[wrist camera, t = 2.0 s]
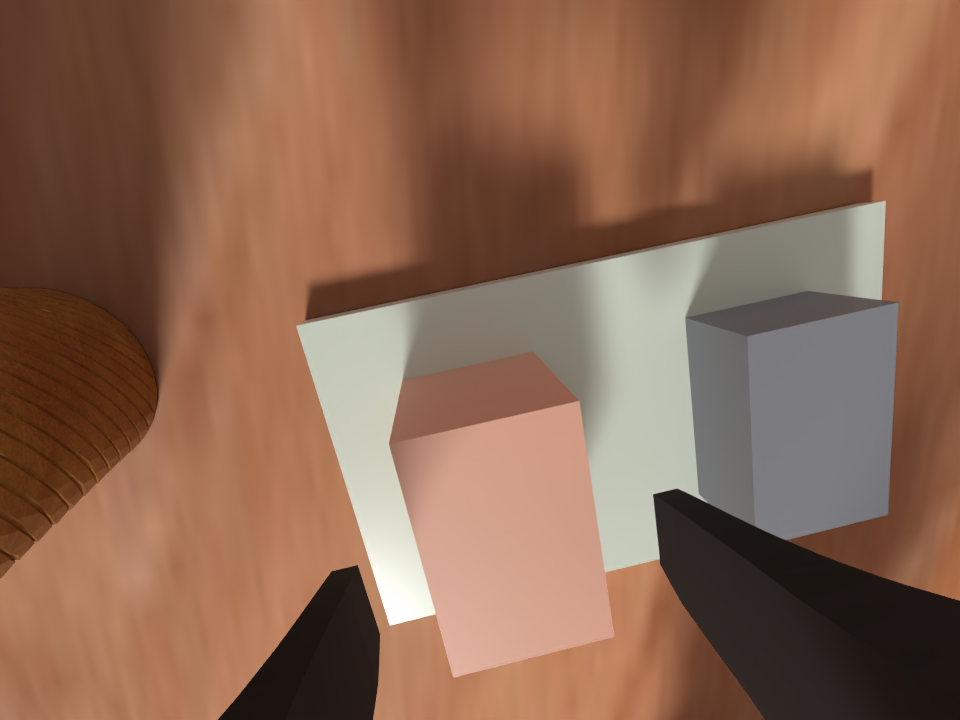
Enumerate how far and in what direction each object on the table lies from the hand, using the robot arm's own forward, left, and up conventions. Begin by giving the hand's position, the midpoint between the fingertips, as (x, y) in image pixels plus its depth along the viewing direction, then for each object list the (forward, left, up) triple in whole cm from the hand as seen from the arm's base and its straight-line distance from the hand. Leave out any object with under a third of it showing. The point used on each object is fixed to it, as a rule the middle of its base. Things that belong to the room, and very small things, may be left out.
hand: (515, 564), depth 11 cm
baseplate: (-4, -3, -7) cm, 8 cm away
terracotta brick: (0, 0, -6) cm, 6 cm away
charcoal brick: (-7, -7, -6) cm, 11 cm away
